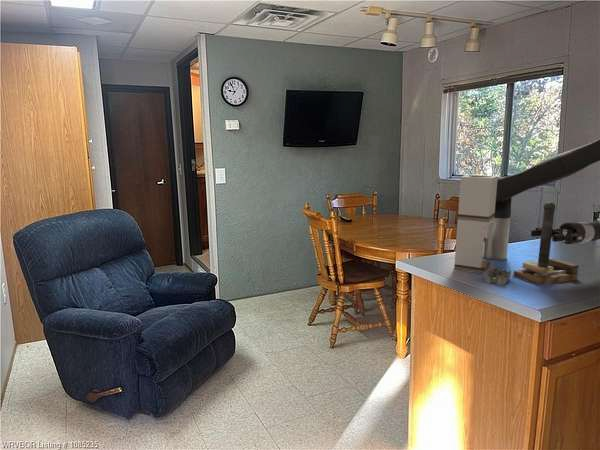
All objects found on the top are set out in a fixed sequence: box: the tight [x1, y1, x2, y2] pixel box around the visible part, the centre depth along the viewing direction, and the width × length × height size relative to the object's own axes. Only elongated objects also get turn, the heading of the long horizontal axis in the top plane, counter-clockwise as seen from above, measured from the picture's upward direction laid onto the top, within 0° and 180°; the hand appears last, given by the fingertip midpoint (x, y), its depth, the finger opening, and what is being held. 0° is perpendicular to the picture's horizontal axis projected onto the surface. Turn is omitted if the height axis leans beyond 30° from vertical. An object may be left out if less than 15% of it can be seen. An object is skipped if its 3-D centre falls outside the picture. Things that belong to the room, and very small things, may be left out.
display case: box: [453, 174, 498, 275], centre depth 168 cm, size 11×11×35 cm
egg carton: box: [483, 265, 512, 285], centre depth 157 cm, size 11×8×4 cm
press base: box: [513, 258, 579, 286], centre depth 160 cm, size 18×11×5 cm, turn 111°
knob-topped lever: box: [522, 201, 556, 274], centre depth 156 cm, size 5×8×24 cm, turn 21°
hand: (542, 235), depth 153 cm, fingers open, 8 cm apart
